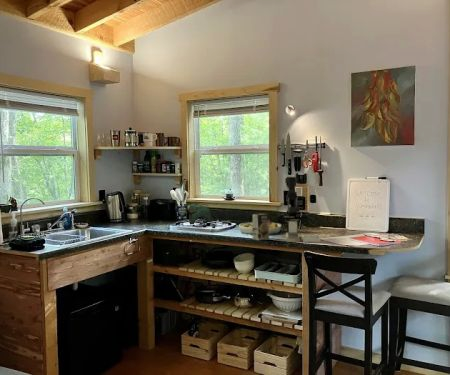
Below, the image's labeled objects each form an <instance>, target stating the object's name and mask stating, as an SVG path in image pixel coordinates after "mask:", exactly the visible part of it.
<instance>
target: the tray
mask: <svg viewBox="0 0 450 375" xmlns="http://www.w3.org/2000/svg"><path fill="white" fill-rule="evenodd" d="M301 239H302V242H303V243H305V242H306V243H307V242H308V243H309V242H310V243H321V240H322V238H321V236H320V235H316V234H315V235H313V234H311V235H310V234H307V235H306V234H302V235H301Z"/></svg>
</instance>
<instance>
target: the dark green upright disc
mask: <svg viewBox="0 0 450 375" xmlns="http://www.w3.org/2000/svg"><path fill="white" fill-rule="evenodd" d="M196 202H199V199H198V200H195V201H194V204H192V203H189V205H188V206H187V212H188V213H189V216H188V223H190V224H194V223H195V224H196V220H197V219H198V218H203V219H204V220H205V223H206V222H211V223H212V218H213V217H212V211H211V209H210V206H209V205H208V204H204V203H202V204H200V205H198V204H196Z"/></svg>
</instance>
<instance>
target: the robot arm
mask: <svg viewBox="0 0 450 375" xmlns="http://www.w3.org/2000/svg"><path fill="white" fill-rule="evenodd" d="M284 182H285V183H284V184H285V185H286V188H287V189H288V192H287V193H286V194H287V195H286V196H285V197H286V199H285V200H286V202H287V210H286V213H285V214H283V213H282V214H279V213H278V215H277V224H280V225H281V226H283V229H284V230H285V232H286V233H289V221H297V224H298V223H299V221H300V225H299V231H300V230H302V228H303V226H304V225H305V224H308V220H309V219H308V218H309V216H308V214H301V216H299V215H298V213H299V212H300V210H301V209H300V206H298V205H297V203H298V201H299V200H300V198H299V196H298V195H297V192H296V189H295V188H296V187H297V184H298V177H296V176H287V177H285V180H284ZM286 224H287V226H286ZM297 232H298V229H297Z"/></svg>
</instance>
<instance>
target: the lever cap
mask: <svg viewBox="0 0 450 375" xmlns="http://www.w3.org/2000/svg"><path fill="white" fill-rule="evenodd" d="M297 230H298V223H297V221H289V232H288V233H298V231H297Z"/></svg>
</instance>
